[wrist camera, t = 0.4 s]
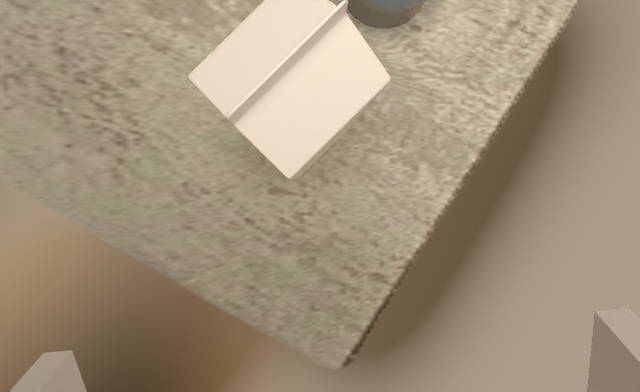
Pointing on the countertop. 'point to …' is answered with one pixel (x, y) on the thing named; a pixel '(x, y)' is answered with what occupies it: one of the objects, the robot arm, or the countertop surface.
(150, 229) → the countertop surface
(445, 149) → the countertop surface
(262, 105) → the milk
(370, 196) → the countertop surface
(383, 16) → the slate jar
